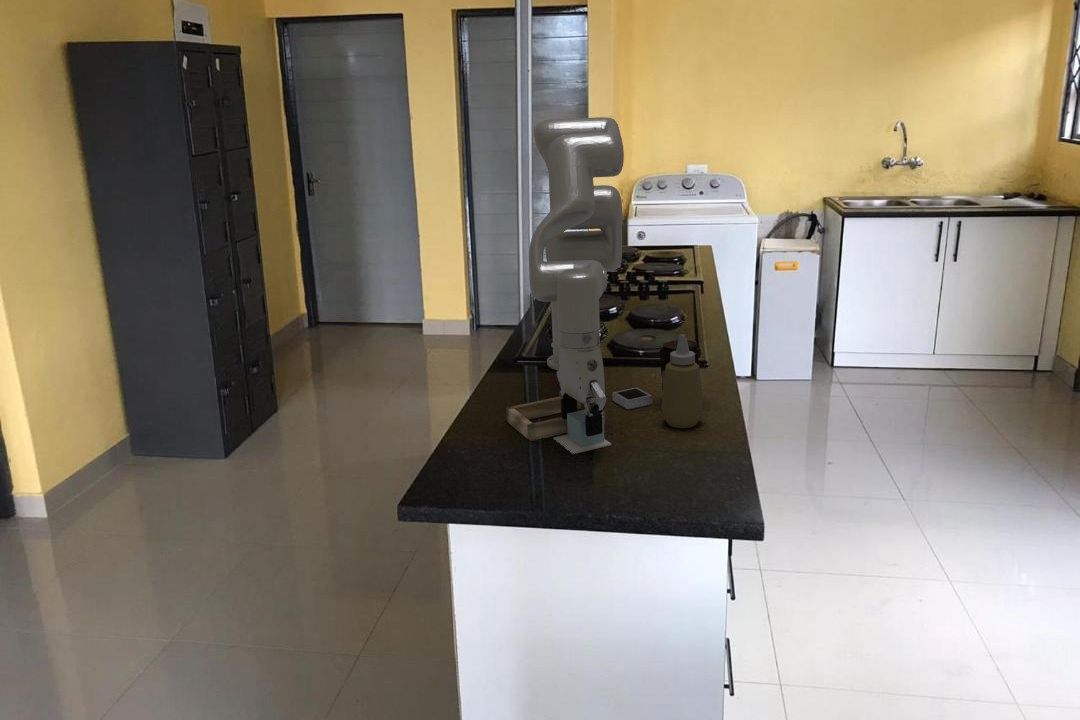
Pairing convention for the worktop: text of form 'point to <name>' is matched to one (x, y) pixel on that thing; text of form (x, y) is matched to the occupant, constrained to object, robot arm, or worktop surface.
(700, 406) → the squeeze bottle
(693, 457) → the worktop surface
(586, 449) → the mat
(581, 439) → the blue block
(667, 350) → the coffee cup
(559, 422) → the cubby
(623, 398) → the tray
